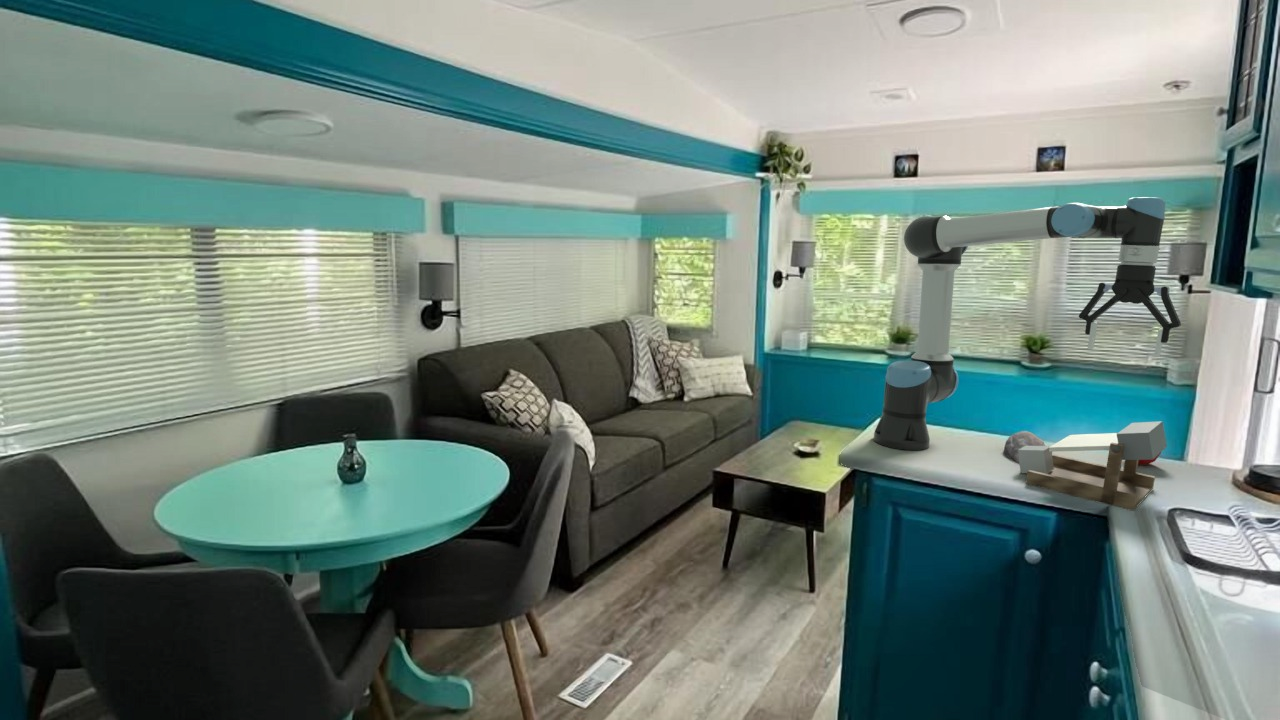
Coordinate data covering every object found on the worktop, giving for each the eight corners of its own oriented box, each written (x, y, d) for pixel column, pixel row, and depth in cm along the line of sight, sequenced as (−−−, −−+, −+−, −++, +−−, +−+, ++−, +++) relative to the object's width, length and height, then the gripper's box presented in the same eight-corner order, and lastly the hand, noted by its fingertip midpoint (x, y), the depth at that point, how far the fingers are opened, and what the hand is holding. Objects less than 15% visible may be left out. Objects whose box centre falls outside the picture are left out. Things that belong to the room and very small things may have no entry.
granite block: (1044, 450, 173) (1046, 474, 173) (1051, 446, 177) (1053, 469, 177) (1018, 449, 177) (1020, 473, 177) (1025, 445, 181) (1028, 468, 181)
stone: (1036, 487, 184) (1069, 465, 181) (1011, 460, 184) (1043, 436, 181) (1014, 467, 200) (1044, 446, 198) (991, 442, 200) (1021, 420, 198)
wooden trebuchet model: (1025, 483, 169) (1033, 428, 167) (1052, 465, 184) (1060, 414, 182) (1133, 510, 154) (1143, 450, 151) (1153, 488, 169) (1162, 433, 166)
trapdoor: (1051, 461, 166) (1047, 437, 167) (1072, 448, 179) (1068, 425, 179) (1152, 460, 152) (1147, 433, 152) (1167, 445, 164) (1163, 420, 165)
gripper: (1072, 261, 171) (1060, 346, 174) (1200, 267, 153) (1184, 361, 157) (1081, 261, 176) (1069, 343, 180) (1205, 266, 158) (1189, 358, 162)
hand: (1122, 352), depth 168 cm, fingers open, 13 cm apart
